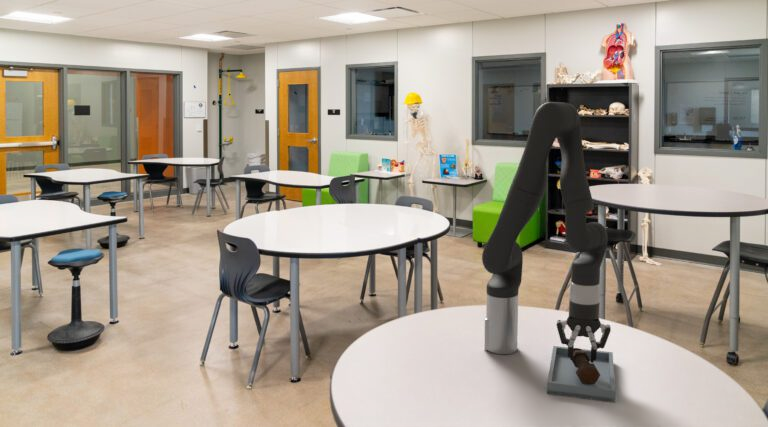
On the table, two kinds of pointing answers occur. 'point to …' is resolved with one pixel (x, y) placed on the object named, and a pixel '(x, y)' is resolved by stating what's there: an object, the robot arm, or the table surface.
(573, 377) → the tray
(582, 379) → the bolt
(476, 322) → the table surface
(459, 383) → the table surface
